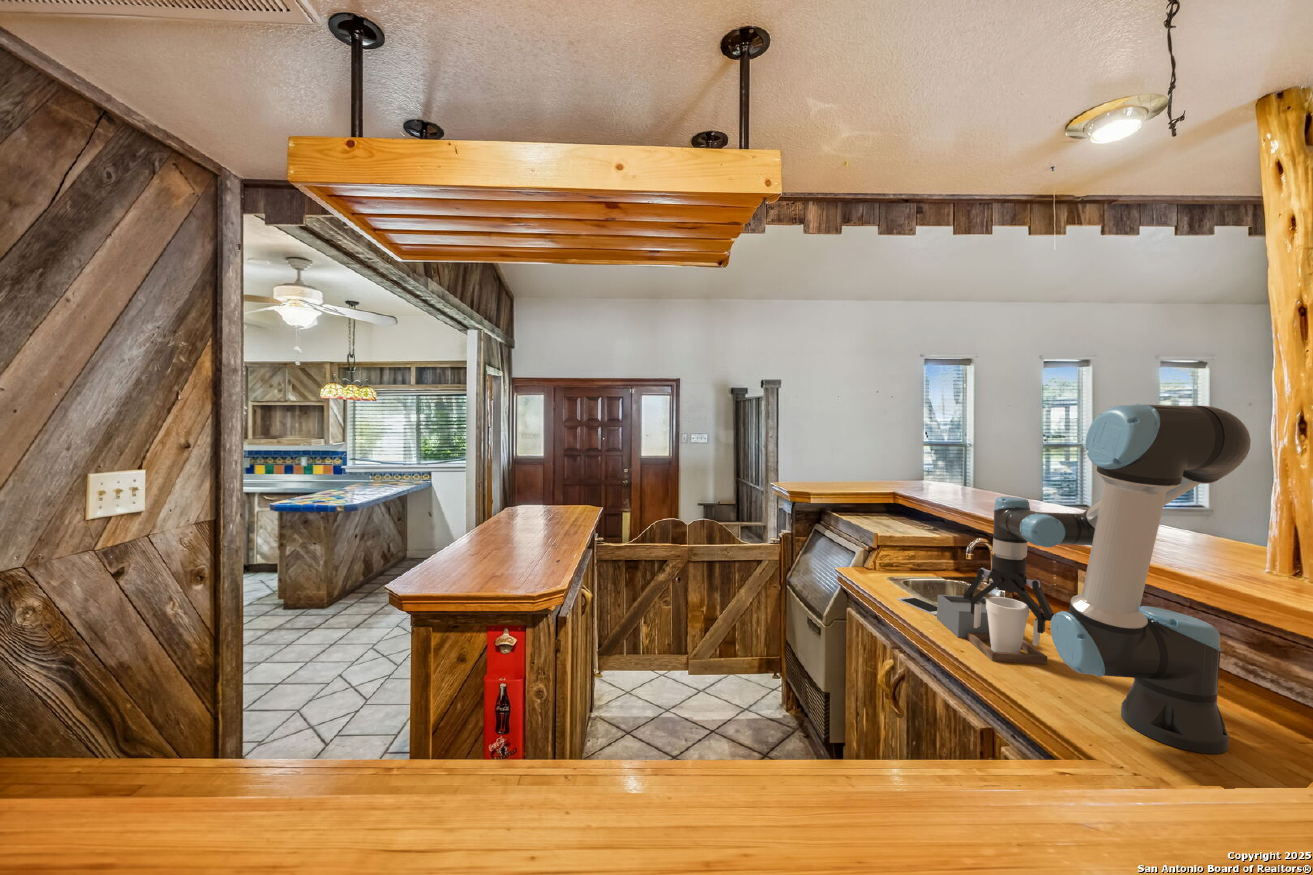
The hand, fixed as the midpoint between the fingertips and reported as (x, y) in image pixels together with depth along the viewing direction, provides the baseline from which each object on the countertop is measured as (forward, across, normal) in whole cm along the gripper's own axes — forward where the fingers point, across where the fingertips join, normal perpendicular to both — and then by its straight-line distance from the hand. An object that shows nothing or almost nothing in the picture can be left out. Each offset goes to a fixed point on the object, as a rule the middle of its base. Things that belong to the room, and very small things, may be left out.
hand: (1005, 635), depth 138 cm
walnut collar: (+4, 0, 0) cm, 4 cm away
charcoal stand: (+4, +11, -9) cm, 15 cm away
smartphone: (+5, +29, -17) cm, 34 cm away
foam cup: (+4, 0, 0) cm, 4 cm away
